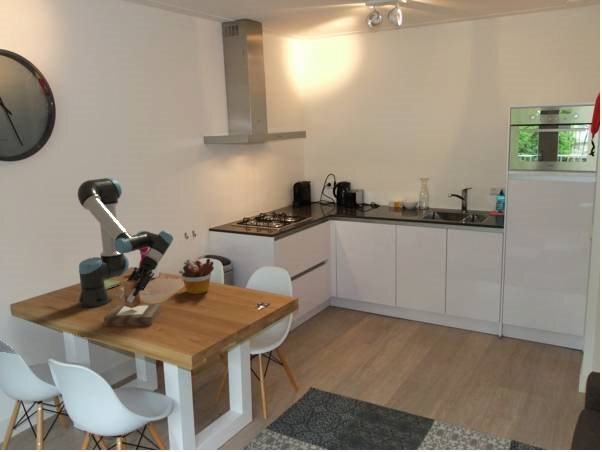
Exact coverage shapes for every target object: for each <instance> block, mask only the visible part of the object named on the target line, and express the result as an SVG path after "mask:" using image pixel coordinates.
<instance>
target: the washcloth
mask: <svg viewBox="0 0 602 452" xmlns="http://www.w3.org/2000/svg"><path fill="white" fill-rule="evenodd" d="M119 284H120V285H121V284H122V282H121V281H118V280H115V279H108V280H104V285H105V289H106V291H108V290H110V289H113V288H115V287H118V286H120V285H119ZM117 285H118V286H117ZM112 287H113V288H112ZM109 288H110V289H109ZM107 289H108V290H107Z"/></svg>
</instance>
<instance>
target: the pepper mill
mask: <svg viewBox="0 0 602 452" xmlns="http://www.w3.org/2000/svg"><path fill="white" fill-rule="evenodd" d="M149 249H150V248H149V247H147V248H143V249H139V250H138V251H139V255H140V261H139V265H138V268H139V267H140V266H141V265H142V263H141V261H142V260H143V258H144V257H145V256H146V253H147V252H148V250H149Z"/></svg>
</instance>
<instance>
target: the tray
mask: <svg viewBox="0 0 602 452" xmlns="http://www.w3.org/2000/svg"><path fill="white" fill-rule="evenodd" d="M161 312H162V311H161V304H160V303H149V304H147V303H146V304H140V306H137V307H134V308H129V307H126V306H125V304H118V305H115V306H114V307H112V309H111V310H110V311H109V312H108V313H107V314H106V315H105V316H104V318H103V323H104V325H103V326H104V327H124V326H125V327H129V326H133V327H134V326H152V325H153V324H154V322H155V321H156V319H157V318H158V317H159V314H160V313H161Z"/></svg>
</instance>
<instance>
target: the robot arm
mask: <svg viewBox="0 0 602 452" xmlns="http://www.w3.org/2000/svg"><path fill="white" fill-rule="evenodd" d="M121 196H122V186H121V185H120V183H119V182H118V180H116V178H112V177H109V178H108V177H107V178H106V177H104V178H98V179H88V180H85V181H83V182H82V183H81V184H80V186H79V187H78V189H77V199H78V201H79V203H80V205H81V206H82V207H83V209H85V210H86V211H87V210H88V211H89V212H90V214H91V215H92V216H93V217H94V219H96V221H97V222H98V223H99V225H100V235H101V244H102V251H101V252H100V257H97V256H96V257H95V256H94V257H90V258H87V259H83V260H82V261H81V262H79V264H78V273H79V280H80V294H79V298H78V306H80V307H83V308H93V307H94V308H95V307H100V306H103V305H106V304H108V303H109V302H110V296H109V293H108V292H107V291H108V290H106V289H105V285H104V280H108V279H109V280H112V279H113V278H119V277H120V276H123V275H125V274H126V273H127V272H128V270H129V266H130V263H129V259H128V257H127V255H126V254H128V253H129V254H130V253H131V252H134V251H140V250H139V249H143V248H147V247H149V249H148V252H147V253H146V256H145V257H144V258H143V260H142V261H141V260H140V261H141V263H142V265H141V266H140V267H139V266H138V267H134V268H133V271H132V273H131V274H130V275H129V277H128V279H127V280H126V281H130V280H135V281H138V284H137V286H136V287H135V288H136V289H135V288H134V289H133V291H132V292H131V294H130V296H129V297H128V299H127V301H129V302H130V303H132V301H133V300H134V298H135V297H136V296H137V294H138V293H139V294H140V292H141V291H144V290H145V289H146V287H147V285H148V284H149V282H150V281H151V280H152V279H151V278H152V277H153V275H154V273H153V272H152V270H154V269H155V268H156V266H157V265H158V263H159V264H160V261H161V260H162V259H163V257H164V255H165V254H166V253H167V250H168V249H169V247H170V246H171V244H172V242H173V241H174V236H173V235H172V234H171V233H170V232H168V231H165V230H161V231H159V233H154V232H150V231H147V230H140V231H139V232H137V233H136V234H133V235H131V234H130V233H129V232H128V231H127V230H126V228H125V227H124V226H123V225H122V224H121V222H120V221H119V220H118V219H117V211H116V209H117V208H116V206H117V205H118V203H119V201H118V200H119V199H120V198H121ZM119 299H120V300H122V301H124V302H125V296H124V291H122V293H121V294H120V297H119Z"/></svg>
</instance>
